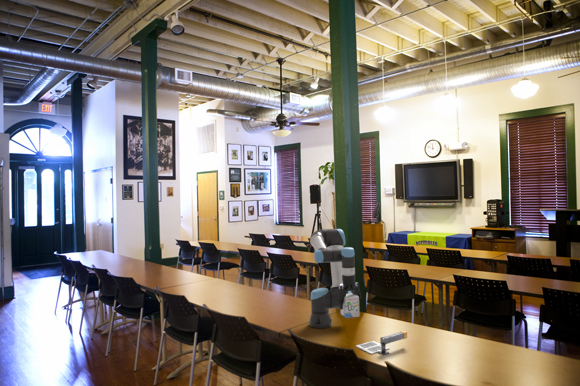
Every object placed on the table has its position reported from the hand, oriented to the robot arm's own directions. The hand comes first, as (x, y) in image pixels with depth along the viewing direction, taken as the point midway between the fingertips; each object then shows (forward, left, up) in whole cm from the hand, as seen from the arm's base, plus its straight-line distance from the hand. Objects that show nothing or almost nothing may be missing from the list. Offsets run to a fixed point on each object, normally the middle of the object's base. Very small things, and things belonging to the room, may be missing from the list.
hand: (349, 313), depth 224 cm
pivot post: (+23, +4, -16) cm, 29 cm away
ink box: (0, 0, -1) cm, 1 cm away
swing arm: (+23, +12, -11) cm, 28 cm away
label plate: (+14, +4, -16) cm, 22 cm away
